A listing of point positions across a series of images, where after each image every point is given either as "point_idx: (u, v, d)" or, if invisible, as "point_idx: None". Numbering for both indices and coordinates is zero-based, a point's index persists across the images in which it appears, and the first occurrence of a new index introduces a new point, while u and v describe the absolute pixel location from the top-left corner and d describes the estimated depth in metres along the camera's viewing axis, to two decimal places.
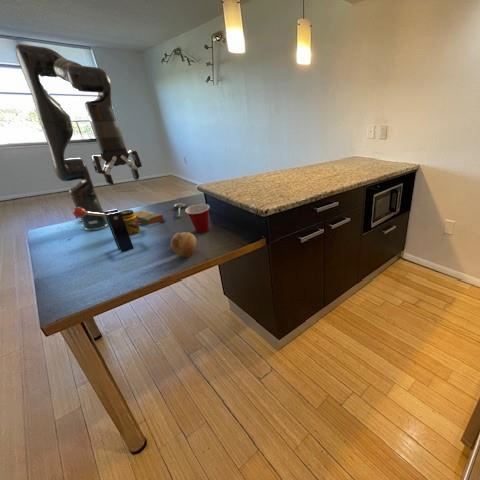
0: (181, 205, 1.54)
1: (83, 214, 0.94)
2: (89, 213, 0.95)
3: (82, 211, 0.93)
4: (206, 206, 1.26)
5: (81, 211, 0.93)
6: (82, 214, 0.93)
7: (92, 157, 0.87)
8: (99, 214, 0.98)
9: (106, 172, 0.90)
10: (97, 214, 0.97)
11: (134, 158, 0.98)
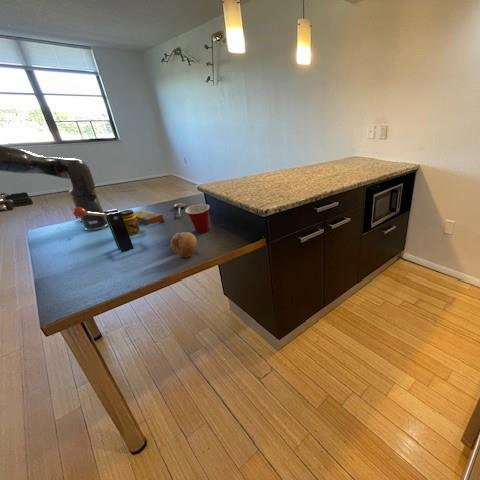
0: (181, 205, 1.54)
1: (83, 214, 0.94)
2: (89, 213, 0.95)
3: (82, 211, 0.93)
4: (206, 206, 1.26)
5: (81, 211, 0.93)
6: (82, 214, 0.93)
7: None
8: (99, 214, 0.98)
9: None
10: (97, 214, 0.97)
11: None
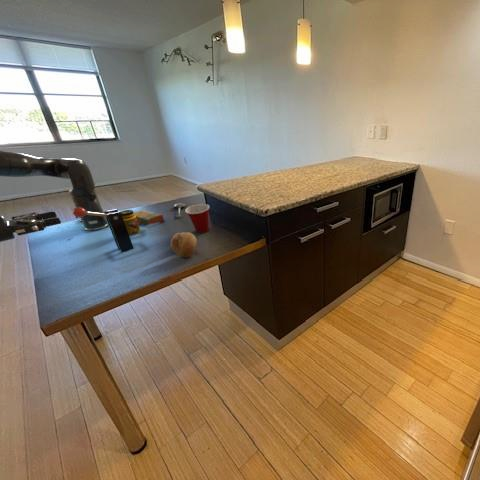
0: (181, 205, 1.54)
1: (83, 214, 0.94)
2: (89, 213, 0.95)
3: (82, 211, 0.93)
4: (206, 206, 1.26)
5: (81, 211, 0.93)
6: (82, 214, 0.93)
7: None
8: (99, 214, 0.98)
9: None
10: (97, 214, 0.97)
11: None
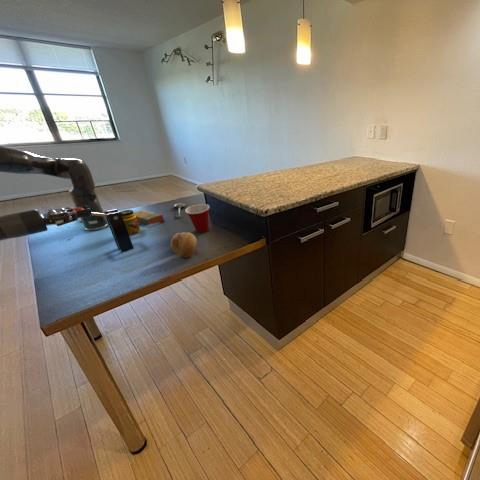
0: (181, 205, 1.54)
1: None
2: None
3: None
4: (206, 206, 1.26)
5: None
6: None
7: None
8: (99, 214, 0.98)
9: None
10: (97, 214, 0.97)
11: None
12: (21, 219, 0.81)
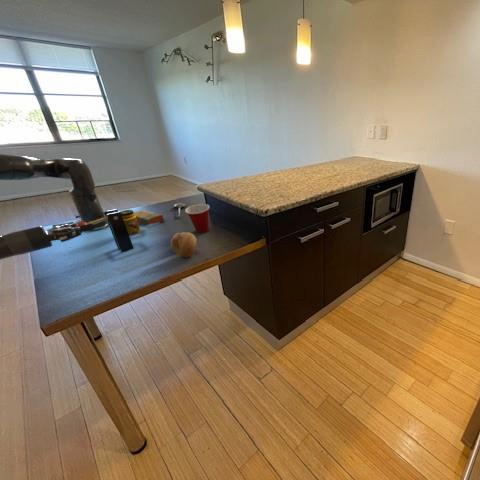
0: (181, 205, 1.54)
1: None
2: None
3: None
4: (206, 206, 1.26)
5: None
6: None
7: None
8: (100, 220, 0.99)
9: None
10: (98, 221, 0.98)
11: None
12: (26, 236, 0.83)
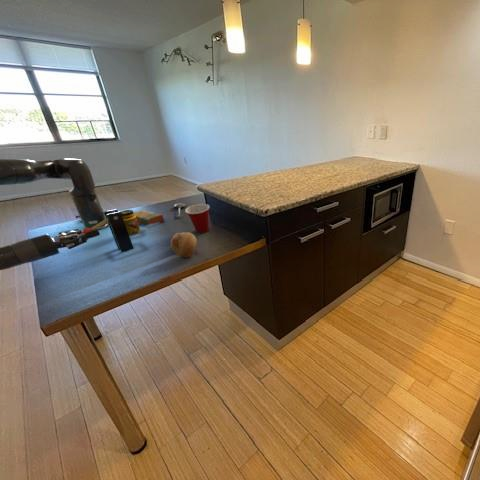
0: (181, 205, 1.54)
1: None
2: (95, 228, 0.98)
3: (88, 231, 0.96)
4: (206, 206, 1.26)
5: None
6: None
7: None
8: (102, 223, 0.99)
9: None
10: (101, 224, 0.99)
11: None
12: (34, 245, 0.85)
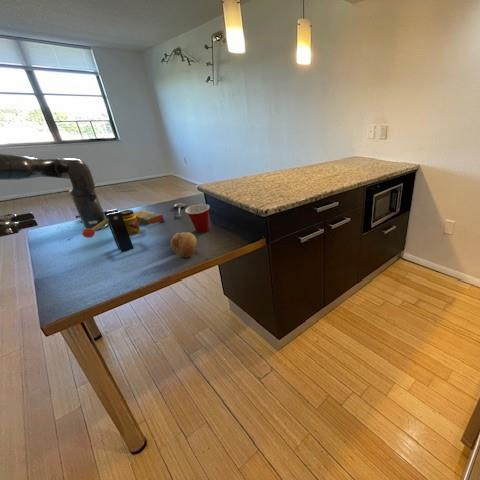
0: (181, 205, 1.54)
1: (92, 233, 0.97)
2: (95, 228, 0.98)
3: (88, 231, 0.96)
4: (206, 206, 1.26)
5: (88, 232, 0.96)
6: (91, 233, 0.97)
7: None
8: (102, 223, 0.99)
9: None
10: (101, 225, 0.99)
11: None
12: None
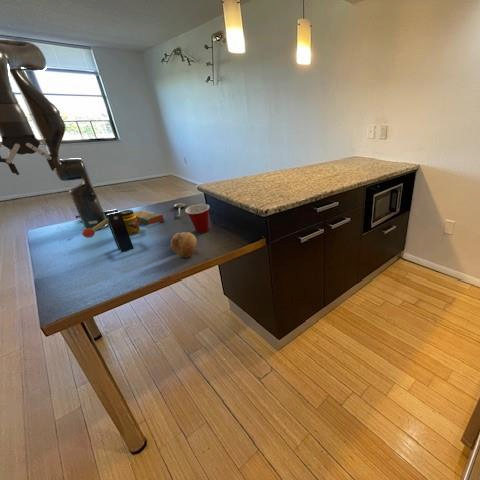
0: (181, 205, 1.54)
1: (92, 233, 0.97)
2: (95, 228, 0.98)
3: (88, 231, 0.96)
4: (206, 206, 1.26)
5: (88, 232, 0.96)
6: (91, 233, 0.97)
7: None
8: (102, 223, 0.99)
9: (7, 161, 0.82)
10: (101, 225, 0.99)
11: (48, 147, 0.89)
12: None
